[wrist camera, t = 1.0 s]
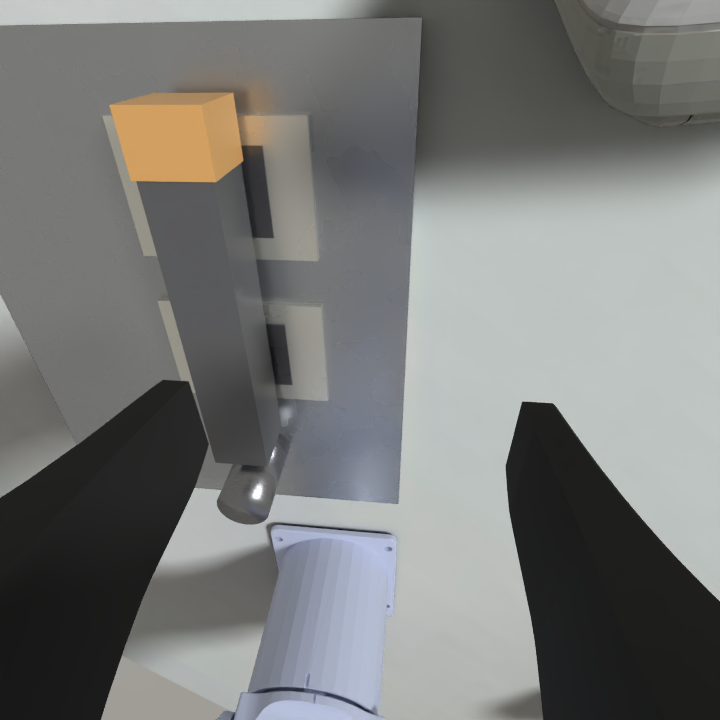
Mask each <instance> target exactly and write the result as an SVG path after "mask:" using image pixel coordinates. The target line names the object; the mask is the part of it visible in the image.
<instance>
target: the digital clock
mask: <svg viewBox="0 0 720 720" xmlns="http://www.w3.org/2000/svg"><path fill="white" fill-rule="evenodd" d="M554 2H555V4H556V7H557V9H558V12H559V14H560V17H561V19H562V22H563V24H564V27H565V29H566V31H567V34H568V36H569V39H570V41H571V43H572V46H573V48H574V50H575V53H576V55H577V57H578V59H579V61H580V63H581V65H582V67H583V69H584V71H585V73H586V75H587V77H588V78H589V80H590V81H591V83H592V84H593V86H594V87H595V88H596V90H597V91H598V93H599V94H600V95H601V97H602V98H603V99H604V100H605V101H606V102H607V103H609V106H610V107H612V108H614V109H616V110H618V111H620V112H622V113H624V114H626V115H628V116H630V117H633V118H635V119H637V120H639V121H641V122H643V123H645V124H647V125H650V126H654V127H668V126H678V125H691V124H703V123H714V122H720V0H554Z"/></svg>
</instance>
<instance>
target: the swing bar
mask: <svg viewBox="0 0 720 720" xmlns="http://www.w3.org/2000/svg"><path fill="white" fill-rule="evenodd" d="M109 106H110V109H111V113H112V116H113V120H114V123H115V127H116V130H117V134H118V137H119V141H120V144H121V148H122V151H123V155H124V158H125V162H126V165H127V169H128V172H129V176H130V179H131V181H136V182H137V186H138V189H139V193H140V197H141V200H142V204H143V207H144V211H145V214H146V218H147V221H148V225H149V229H150V232H151V236H152V239H153V243H154V246H155V250H156V254H157V257H158V261H159V264H160V268H161V271H162V275H163V278H164V282H165V286H166V289H167V293H168V296H169V300H170V303H171V307H172V310H173V314H174V318H175V321H176V325H177V328H178V332H179V335H180V339H181V343H182V346H183V350H184V353H185V357H186V360H187V364H188V367H189V371H190V375H191V378H192V382H193V385H194V389H195V392H196V396H197V400H198V403H199V407H200V410H201V414H202V417H203V421H204V424H205V428H206V432H207V435H208V439H209V442H210V446H211V449H212V453H213V457H214V460H215V463H225V464H239V465H252V466H265V467H268V464H269V461H270V459H271V456H272V453H273V450H274V447H275V444H276V441H277V439H278V436H279V433H280V430H281V421H280V415H279V408H278V402H277V395H276V389H275V382H274V376H273V369H272V363H271V356H270V349H269V343H268V336H267V330H266V323H265V317H264V310H263V304H262V297H261V291H260V284H259V278H258V271H257V265H256V258H255V252H254V245H253V239H252V232H251V226H250V219H249V212H248V206H247V199H246V193H245V186H244V180H243V173H242V167H241V162H243V154H242V148H241V141H240V134H239V128H238V121H237V114H236V108H235V101H234V94H233V93H151V94H148V95H144V96H140V97H137V98H133V99H129V100H126V101H122V102H118V103H115V104H111V105H109Z"/></svg>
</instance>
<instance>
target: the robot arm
mask: <svg viewBox="0 0 720 720" xmlns="http://www.w3.org/2000/svg"><path fill="white" fill-rule="evenodd" d="M208 446H209V442H208V439H207V436H206V433H205V430H204V427H203V424H202V421H201V418H200V414H199V411H198V408H197V405H196V402H195V399H194V396H193V393H192V390H191V386H190V383H189V381H175V380H162V381H161V382H159V383H158V384H156V385H155V386H153V387H152V388H151V389H149V390H148V391H147V392H145V393H144V394H143V395H142V396H140V397H139V398H138V399H136V400H135V401H134V402H132V403H131V404H130V405H129V406H127V407H126V408H125V409H123V410H122V411H121V412H120V413H118V414H117V415H116V416H114V417H113V418H112V419H111V420H109V421H108V422H107V423H105V424H104V425H103V426H101V427H100V428H99V429H98V430H96V431H95V432H94V433H92V434H91V435H90V436H88V437H87V438H86V439H84V440H83V441H82V442H80V443H79V444H78V445H76V446H75V447H74V448H72V449H71V450H69V451H68V452H67V453H65V454H64V455H62V456H61V457H60V458H58V459H57V460H55V461H54V462H53V463H51V464H50V465H48V466H47V467H45V468H44V469H43V470H41V471H40V472H38V473H37V474H36V475H34V476H33V477H31V478H30V479H29V480H27V481H26V482H24V483H22V484H21V485H19V486H18V487H16V488H15V489H13V490H12V491H10V492H9V493H7V494H6V495H4V496H3V497H1V498H0V720H101V717H102V714H103V711H104V708H105V704H106V701H107V698H108V694H109V692H110V689H111V686H112V683H113V680H114V677H115V674H116V671H117V668H118V665H119V662H120V659H121V656H122V653H123V650H124V648H125V645H126V642H127V639H128V636H129V634H130V631H131V628H132V626H133V623H134V620H135V617H136V615H137V612H138V609H139V607H140V604H141V601H142V599H143V596H144V594H145V592H146V589H147V587H148V585H149V582H150V580H151V578H152V576H153V574H154V572H155V569H156V567H157V565H158V563H159V561H160V559H161V557H162V555H163V553H164V551H165V549H166V547H167V545H168V543H169V540H170V538H171V536H172V534H173V532H174V530H175V528H176V526H177V524H178V522H179V520H180V518H181V516H182V513H183V511H184V509H185V507H186V505H187V503H188V501H189V499H190V497H191V494H192V492H193V490H194V488H195V486H196V483H197V480H198V477H199V474H200V471H201V468H202V465H203V462H204V459H205V456H206V452H207V449H208ZM506 478H507V491H508V502H509V512H510V517H511V523H512V528H513V533H514V538H515V543H516V547H517V552H518V557H519V562H520V567H521V572H522V577H523V581H524V586H525V591H526V596H527V601H528V606H529V611H530V615H531V621H532V627H533V633H534V639H535V646H536V655H537V664H538V673H539V682H540V691H541V701H542V711H543V720H720V601H719V600H718V599H717V598H716V597H715V596H714V595H713V594H711V593H710V592H709V591H708V590H707V589H706V587H705V586H704V585H703V584H702V583H701V582H700V581H699V580H698V579H697V578H696V577H695V576H694V575H693V574H692V573H691V572H690V571H689V570H688V569H687V568H686V567H685V566H684V565H683V564H682V563H681V562H680V561H679V560H678V559H677V558H676V557H675V556H674V554H673V553H672V552H671V551H670V550H669V549H668V548H667V547H666V546H665V545H664V544H663V542H662V541H661V540H660V539H659V538H658V537H657V536H656V535H655V533H654V532H653V531H652V530H651V529H650V528H649V527H648V525H647V524H646V523H645V522H644V521H643V520H642V519H641V517H640V516H639V515H638V514H637V513H636V512H635V510H634V509H633V508H632V507H631V506H630V504H629V503H628V502H627V501H626V500H625V498H624V497H623V496H622V495H621V493H620V492H619V491H618V490H617V488H616V487H615V486H614V485H613V483H612V482H611V481H610V479H609V478H608V477H607V476H606V474H605V473H604V472H603V471H602V469H601V468H600V467H599V465H598V464H597V463H596V461H595V460H594V459H593V457H592V456H591V455H590V453H589V452H588V451H587V449H586V448H585V447H584V445H583V444H582V443H581V441H580V440H579V438H578V437H577V436H576V434H575V433H574V431H573V430H572V429H571V427H570V426H569V424H568V423H567V422H566V420H565V419H564V417H563V416H562V414H561V413H560V412H559V410H558V409H557V407H556V406H555V405H554V404H553V403H537V402H522V405H521V409H520V412H519V416H518V420H517V424H516V428H515V432H514V436H513V440H512V444H511V447H510V451H509V455H508V459H507V463H506ZM271 538H272V543H273V547H274V552H275V557H276V562H277V567H278V571H279V574H278V578H277V582H276V586H275V589H274V593H273V597H272V601H271V605H270V608H269V612H268V616H267V620H266V624H265V627H264V631H263V635H262V639H261V643H260V646H259V650H258V654H257V658H256V662H255V665H254V669H253V673H252V677H251V681H250V684H249V688H248V692H247V693H246V692H242V693H241V694H240V698H239V702H238V705H237V709H236V713H235V712H232V711H228V710H227V711H224V712H223V713H222V714H221V715H220V717H219V718H217V719H216V720H385V717H383V716H380V704H381V688H382V673H383V657H384V642H385V626H386V616H391V615H392V614H393V604H394V583H395V563H396V542H397V540H396V538H395V537H394V536H393V535H389V534H379V533H367V532H356V531H344V530H333V529H321V528H310V527H299V526H287V525H274V526H273V527H272V529H271Z"/></svg>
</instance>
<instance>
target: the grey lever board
mask: <svg viewBox="0 0 720 720" xmlns="http://www.w3.org/2000/svg"><path fill="white" fill-rule="evenodd" d="M421 31H422V17H413V18H363V19H312V20H262V21H212V22H162V23H112V24H62V25H12V26H0V294H1V296H2V298H3V300H4V302H5V304H6V306H7V308H8V310H9V312H10V314H11V316H12V318H13V320H14V322H15V324H16V326H17V328H18V330H19V332H20V334H21V335H22V337H23V339H24V341H25V343H26V345H27V347H28V349H29V351H30V353H31V355H32V357H33V359H34V361H35V363H36V365H37V367H38V369H39V371H40V373H41V375H42V377H43V379H44V381H45V383H46V384H47V386H48V388H49V390H50V392H51V394H52V396H53V398H54V400H55V402H56V404H57V406H58V408H59V410H60V412H61V414H62V416H63V418H64V420H65V422H66V424H67V426H68V428H69V430H70V432H71V433H72V435H73V437H74V439H75V441H76V443H77V445H78V444H79V443H80V442H82V441H83V440H84V439H86V438H87V437H88V436H90V435H91V434H92V433H94V432H95V431H96V430H98V429H99V428H100V427H101V426H103V425H104V424H105V423H107V422H108V421H109V420H111V419H112V418H113V417H114V416H116V415H117V414H118V413H120V412H121V411H122V410H123V409H125V408H126V407H127V406H129V405H130V404H131V403H132V402H134V401H135V400H136V399H138V398H139V397H140V396H142V395H143V394H144V393H145V392H147V391H148V390H149V389H151V388H152V387H153V386H155V385H156V384H158V383H159V382H161V381H162V380H175V381H189V383H190V386H191V390H192V393H193V396H194V399H195V402H196V405H197V408H198V411H199V414H200V418H201V421H202V424H203V427H204V430H205V433H206V436H207V439H208V435H207V432H206V428H205V424H204V421H203V417H202V414H201V410H200V407H199V403H198V400H197V396H196V392H195V389H194V385H193V382H192V378H191V375H190V371H189V367H188V364H187V360H186V357H185V353H184V350H183V346H182V343H181V339H180V335H179V332H178V328H177V325H176V321H175V318H174V314H173V310H172V307H171V303H170V300H169V296H168V293H167V289H166V286H165V282H164V278H163V275H162V271H161V268H160V264H159V261H158V257H157V254H156V250H155V246H154V243H153V239H152V236H151V232H150V229H149V225H148V221H147V218H146V214H145V211H144V207H143V204H142V200H141V197H140V193H139V189H138V186H137V182H136V181H131V179H130V176H129V172H128V169H127V165H126V162H125V158H124V155H123V151H122V148H121V144H120V141H119V137H118V134H117V130H116V127H115V123H114V120H113V116H112V113H111V109H110V106H109V105H111V104H115V103H118V102H122V101H126V100H129V99H133V98H137V97H140V96H144V95H148V94H151V93H233V94H234V101H235V108H236V114H237V121H238V128H239V134H240V141H241V148H242V154H243V162H241V167H242V173H243V180H244V186H245V193H246V199H247V206H248V212H249V219H250V226H251V232H252V239H253V245H254V252H255V258H256V265H257V271H258V278H259V284H260V291H261V297H262V304H263V310H264V317H265V323H266V330H267V336H268V343H269V349H270V356H271V363H272V369H273V376H274V382H275V389H276V395H277V402H278V408H279V415H280V421H281V430H280V433H279V436H278V439H277V441H276V444H275V447H274V450H273V453H272V456H271V459H270V461H269V464H268V467H265V466H252V465H239V464H225V463H215V460H214V457H213V453H212V449H211V446H210V442H209V439H208V442H209V446H208V449H207V452H206V456H205V459H204V462H203V465H202V468H201V471H200V474H199V477H198V480H197V483H196V486H195V488H205V489H217V490H221V493H220V495H219V497H218V500H217V506H218V508H219V510H220V512H221V513H222V514H223V515H224V516H226V517H227V518H229V519H231V520H233V521H235V522H238V523H242V524H258V523H261V522H263V521H265V520H266V519H267V517H268V515H269V512H270V509H271V505H272V502H273V499H274V496H275V494H279V495H292V496H304V497H316V498H329V499H341V500H353V501H366V502H378V503H391V504H398V501H399V481H400V461H401V440H402V420H403V400H404V379H405V359H406V338H407V318H408V297H409V277H410V256H411V236H412V215H413V195H414V174H415V154H416V133H417V113H418V92H419V72H420V52H421Z"/></svg>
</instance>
